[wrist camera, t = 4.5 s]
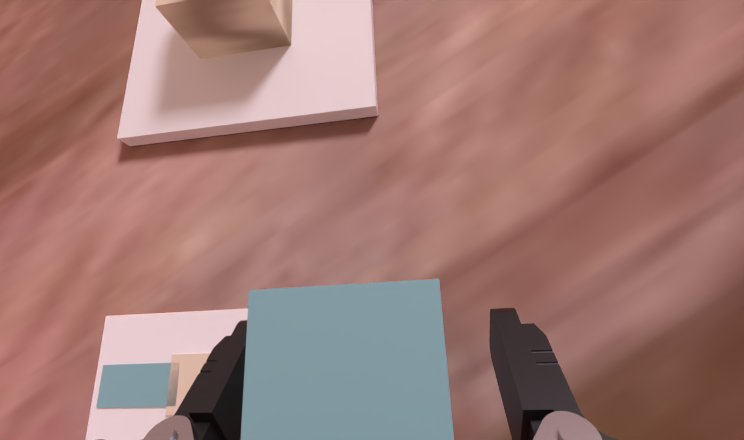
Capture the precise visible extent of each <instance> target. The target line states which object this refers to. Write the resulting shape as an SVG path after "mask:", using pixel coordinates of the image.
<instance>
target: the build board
mask: <svg viewBox="0 0 744 440" xmlns="http://www.w3.org/2000/svg"><path fill="white" fill-rule="evenodd" d="M155 2H156V0H142V4H141V10H140V15H139V21H138V26H137V32H136V37H135V43H134V48H133V54H132V59H131V65H130V70H129V76H128V81H127V87H126V92H125V98H124V103H123V109H122V114H121V120H120V125H119V131H118V136H117V139H119V140H120V141H122V142H124V143H125V144H127V145H129V146H137V145H145V144H153V143H161V142H169V141H178V140H186V139H194V138H202V137H210V136H218V135H226V134H235V133H243V132H251V131H259V130H267V129H275V128H283V127H292V126H300V125H308V124H316V123H324V122H332V121H341V120H349V119H357V118H365V117H373V116H378V100H377V81H376V62H375V42H374V23H373V4H372V0H293V1H292V36H291V45H289V46H282V47H276V48H269V49H263V50H256V51H250V52H244V53H237V54H231V55H224V56H218V57H211V58H205V59H200V58H199V57H198V56H197V55H196V53H195V52H194V51H193V50H192V49H191V48H190V46H189V45H188V44H187V43H186V42H185V41H184V40H183V38H182V37H181V36H180V35H179V34H178V33H177V31H176V30H175V29H174V28H173V27H172V26H171V24H170V23H169V22H168V21H167V20H166V19H165V17H164V16H163V15H162V14H161V13H160V12H159V10H158V9H157V8H156V7H155Z"/></svg>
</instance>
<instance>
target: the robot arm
mask: <svg viewBox="0 0 744 440" xmlns="http://www.w3.org/2000/svg"><path fill="white" fill-rule="evenodd" d="M246 335H247V320H241V321H239V322H238V324H237V325H236V327H235V329H234V331H233V333H232V334H231V336H225V337H224V338H223V339H222V340H221V341H220V342H219V343H218V344H217V345H216V346H215V347H214V348H213V350H212V351H211V353H210V355H209V357H208V358H207V360H206V363H204V365H203V367H202V369H201V370H200V374H198V375H197V377H196V379H195V380H194V382H193V384H192V386H191V387H190V389H189V391H188V392H187V394H186V396H185V398H184V399H183V401H182V403H181V404H180V406H179V408H178V410H177V411H176V413H175V414H174V416H172V417H169V418H166V419H164V420H163V421H161V422H159V423H158V424H157V425H155V426H154V427H153V428H152V429H151V430H150V431H149V432H148V433H147V435H146V436H145V437H144V439H142V440H241V423H242V405H243V388H244V370H245V352H246ZM490 352H491V358H492V362H493V366H494V370H495V374H496V378H497V382H498V386H499V390H500V393H501V397H502V401H503V405H504V409H505V413H506V417H507V421H508V425H509V428H510V432H511V436H512V440H616V439H613V438H611V437H609V436H607V435H605V434H603V433H601V432H600V431H598V430H597V429H596V428H595V427H594V426H593V425H592V424H591V423H590V422H589V421H587V420H586V419H585V418H584V416H583V415H582V414H581V412H580V410H579V408H578V406H577V403H576V401H575V399H574V397H573V395H572V392H571V390H570V388H569V386H568V383H567V381H566V379H565V377H564V375H563V372H562V370H561V368H560V366H559V365H558V361H557V359H556V357H555V355H554V353H553V352H552V348H551V346H550V343H549V341H548V339H547V337H546V335H545V334H544V333H543V332H542V331H541V330H540V329H539V328H538V327H537V326H536V325H535V324H534V323H533V324H521V323H520V320H519V317H518V315H517V312H516V310H515V309H514V308H502V309H491V310H490ZM98 440H103V439H98Z"/></svg>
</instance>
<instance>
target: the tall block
mask: <svg viewBox="0 0 744 440" xmlns="http://www.w3.org/2000/svg"><path fill="white" fill-rule="evenodd" d="M241 440H454V434H453V424H452V413H451V402H450V391H449V381H448V370H447V359H446V349H445V338H444V327H443V317H442V306H441V295H440V284H439V279H423V280H407V281H390V282H373V283H356V284H340V285H323V286H306V287H290V288H273V289H256V290H249V299H248V317H247V335H246V352H245V370H244V388H243V405H242V423H241Z"/></svg>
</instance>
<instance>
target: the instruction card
mask: <svg viewBox="0 0 744 440" xmlns="http://www.w3.org/2000/svg"><path fill="white" fill-rule="evenodd" d="M247 317H248V309H231V310H212V311H193V312H174V313H154V314H135V315H116V316H106V320H105V326H104V332H103V338H102V344H101V350H100V356H99V362H98V368H97V374H96V380H95V386H94V392H93V398H92V404H91V410H90V416H89V423H88V429H87V435H86V440H98V439H103V440H142V439H144V437H145V436H146V435H147V433H148V432H149V431H150V430H151V429H152V428H153V427H154V426H155V425H157V424H158V423H159V422H161V421H163V420H164V419H166V418H169V417H172V416H174V414H175V413H176V411H177V410H178V408H179V406H180V404H181V403H182V401H183V399H184V398H185V396H186V394H187V392H188V391H189V389H190V387H191V386H192V384H193V382H194V380H195V379H196V377H197V375H198V374H200V370H201V369H202V367H203V365H204V363H206V360H207V358H208V357H209V355H210V353H211V351H212V350H213V348H214V347H215V346H216V345H217V344H218V343H219V342H220V341H221V340H222V339H223V338H224V337H225V336H231V334H232V333H233V331H234V329H235V327H236V325H237V324H238V322H239V321H241V320H247Z"/></svg>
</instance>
